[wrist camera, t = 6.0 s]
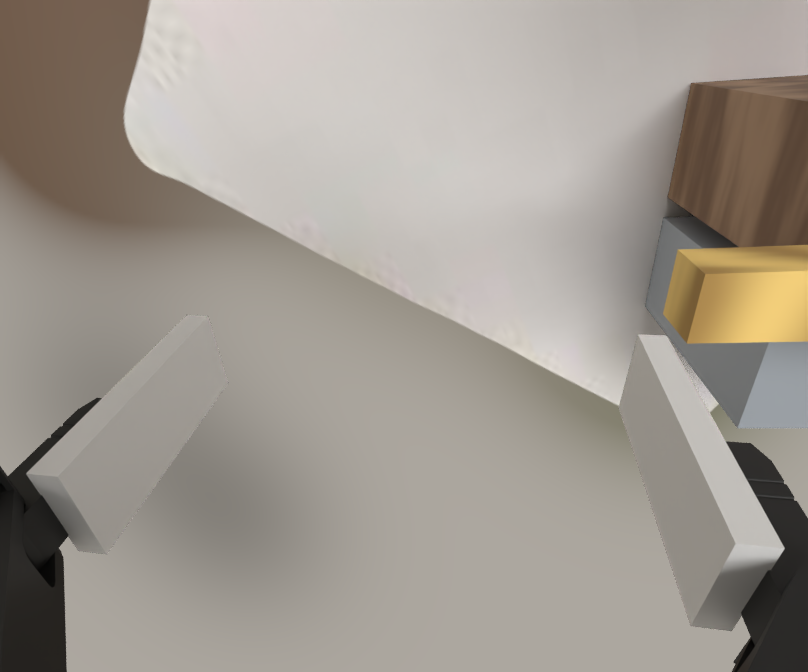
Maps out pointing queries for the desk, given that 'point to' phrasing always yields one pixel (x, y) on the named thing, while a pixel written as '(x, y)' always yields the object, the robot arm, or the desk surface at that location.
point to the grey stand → (732, 346)
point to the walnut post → (746, 160)
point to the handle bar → (740, 294)
